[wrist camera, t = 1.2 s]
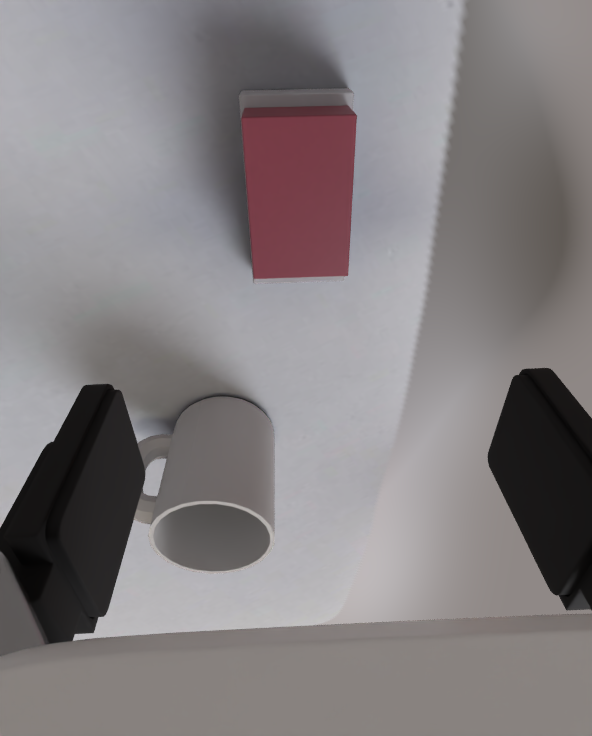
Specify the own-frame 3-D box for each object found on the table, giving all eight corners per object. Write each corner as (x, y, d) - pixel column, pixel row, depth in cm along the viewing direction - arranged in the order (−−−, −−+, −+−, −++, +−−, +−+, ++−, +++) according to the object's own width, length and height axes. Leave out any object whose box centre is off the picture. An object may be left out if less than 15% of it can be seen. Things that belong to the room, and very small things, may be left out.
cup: (268, 467, 37) (266, 576, 29) (137, 457, 35) (102, 567, 28) (281, 398, 32) (283, 505, 25) (133, 383, 31) (90, 491, 24)
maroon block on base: (240, 90, 21) (234, 102, 18) (349, 87, 21) (362, 99, 18) (254, 272, 27) (251, 307, 23) (341, 269, 27) (350, 303, 24)
